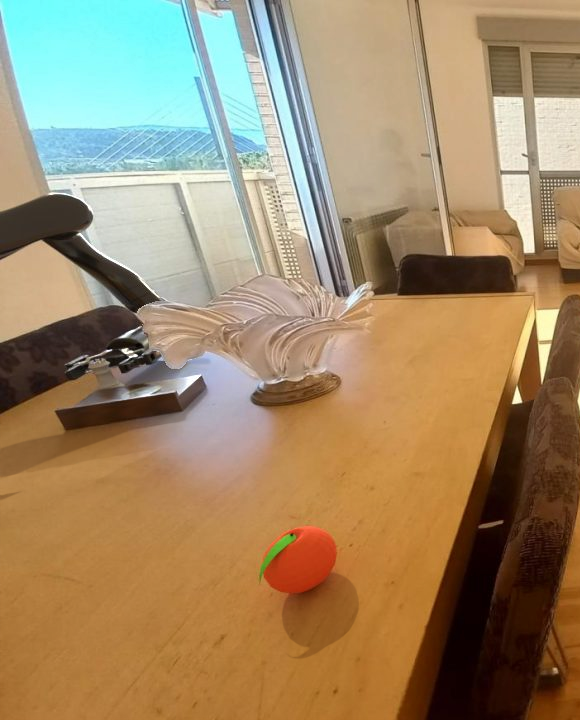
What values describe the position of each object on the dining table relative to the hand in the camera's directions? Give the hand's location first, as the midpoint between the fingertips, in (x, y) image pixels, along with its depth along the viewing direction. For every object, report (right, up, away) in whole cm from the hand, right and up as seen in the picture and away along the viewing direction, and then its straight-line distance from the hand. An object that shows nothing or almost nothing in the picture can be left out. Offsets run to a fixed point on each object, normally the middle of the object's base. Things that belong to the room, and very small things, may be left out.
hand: (96, 372), depth 99 cm
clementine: (+74, -23, -45) cm, 90 cm away
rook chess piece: (0, -5, +4) cm, 6 cm away
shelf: (+12, -7, -2) cm, 14 cm away
